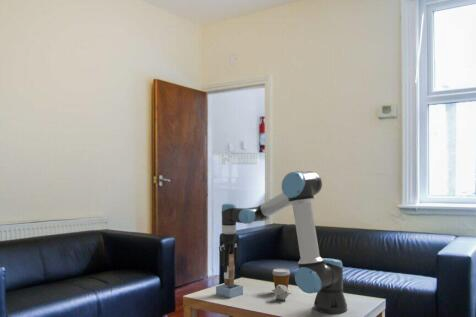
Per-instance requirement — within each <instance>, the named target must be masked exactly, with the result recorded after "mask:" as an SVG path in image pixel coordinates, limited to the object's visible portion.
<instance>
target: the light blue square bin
mask: <svg viewBox="0 0 476 317" xmlns="http://www.w3.org/2000/svg"><path fill="white" fill-rule="evenodd" d="M243 294H244V285H241V284H236V283H234V285H230V286H228V285H224V284H220V285H216V286H215V296H219V297H223V298H227V299H233V298H235V297H239V296H243Z"/></svg>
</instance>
